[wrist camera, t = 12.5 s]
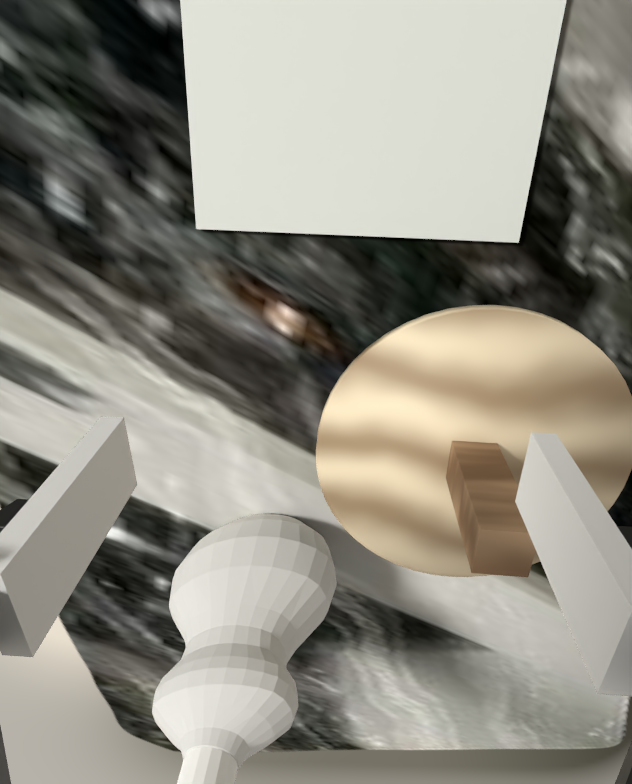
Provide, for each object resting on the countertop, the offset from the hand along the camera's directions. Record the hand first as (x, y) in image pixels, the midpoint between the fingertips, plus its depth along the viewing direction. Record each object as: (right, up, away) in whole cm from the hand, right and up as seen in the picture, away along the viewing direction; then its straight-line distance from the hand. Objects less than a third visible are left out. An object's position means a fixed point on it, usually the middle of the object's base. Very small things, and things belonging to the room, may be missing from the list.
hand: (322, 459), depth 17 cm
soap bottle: (-6, -14, +40) cm, 43 cm away
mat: (+3, +27, +19) cm, 33 cm away
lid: (+12, -3, +24) cm, 27 cm away
